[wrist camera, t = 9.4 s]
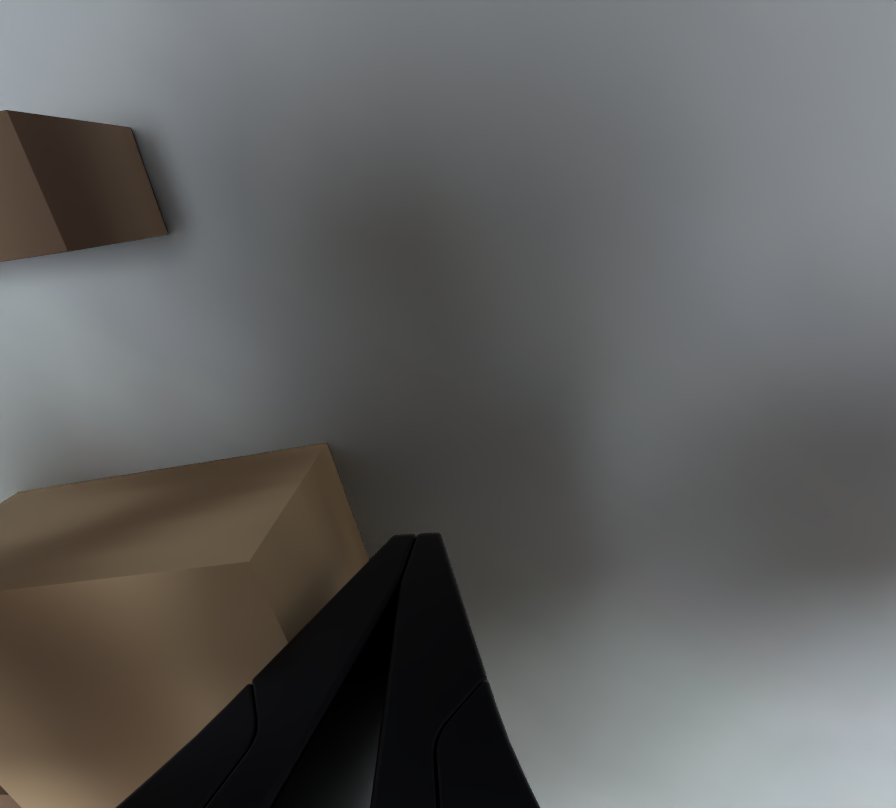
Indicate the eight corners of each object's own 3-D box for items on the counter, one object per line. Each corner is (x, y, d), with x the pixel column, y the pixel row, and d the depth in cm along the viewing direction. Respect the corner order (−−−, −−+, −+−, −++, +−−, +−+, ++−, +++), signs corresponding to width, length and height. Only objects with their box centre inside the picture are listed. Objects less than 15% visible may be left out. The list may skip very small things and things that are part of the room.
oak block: (332, 434, 9) (248, 561, 6) (419, 681, 12) (391, 858, 9) (32, 483, 11) (-165, 610, 8) (171, 698, 13) (70, 859, 10)
